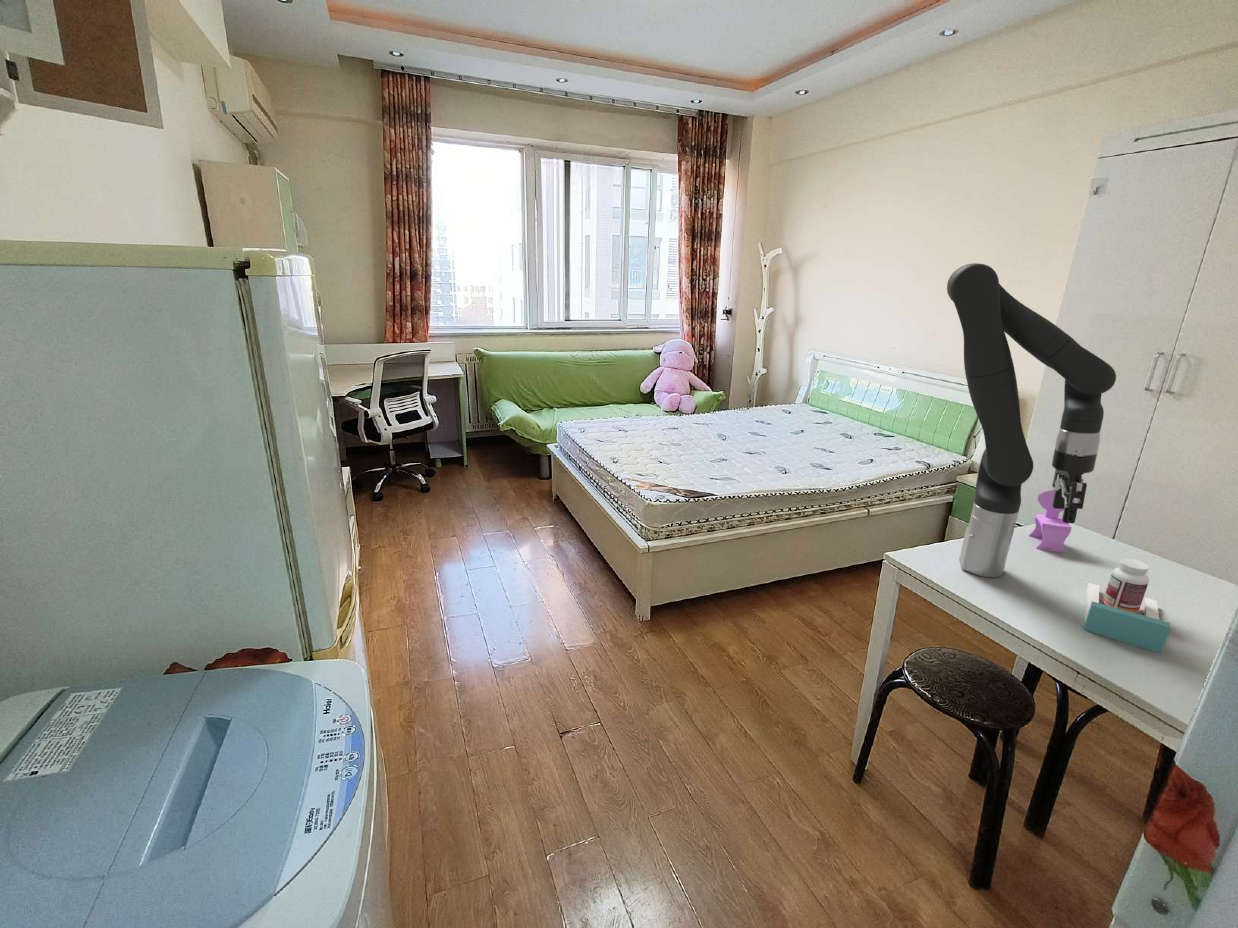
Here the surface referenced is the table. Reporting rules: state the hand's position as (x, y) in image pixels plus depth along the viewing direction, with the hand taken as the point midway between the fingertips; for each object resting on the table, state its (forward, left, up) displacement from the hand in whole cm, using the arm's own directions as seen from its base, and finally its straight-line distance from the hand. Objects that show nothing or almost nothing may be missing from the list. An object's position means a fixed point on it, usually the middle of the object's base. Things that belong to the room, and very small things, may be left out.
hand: (1062, 515), depth 131 cm
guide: (+12, -11, -17) cm, 24 cm away
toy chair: (+5, +22, -18) cm, 28 cm away
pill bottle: (+13, -7, -18) cm, 23 cm away
